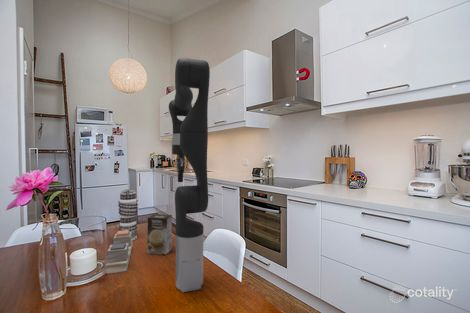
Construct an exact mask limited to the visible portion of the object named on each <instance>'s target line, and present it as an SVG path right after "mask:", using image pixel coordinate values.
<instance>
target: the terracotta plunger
mask: <svg viewBox="0 0 470 313" xmlns="http://www.w3.org/2000/svg"><path fill="white" fill-rule="evenodd" d="M116 233H117V237H125V236H129V230H123V231H119V230H118V231H117V232H116Z"/></svg>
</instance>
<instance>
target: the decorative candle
mask: <svg viewBox="0 0 470 313" xmlns="http://www.w3.org/2000/svg"><path fill="white" fill-rule="evenodd" d="M137 193H138V192H137V191H135V189H133V188H132V189H131V188H129V189H128V188H127V189H123V190H121V192H119V196H120V197H119V200H118V205H117V206H118V207H119V208H118V214H119V225H118V228H119V229H118V231H123V230H129V232H132V241H134V240H136V239H137V238H138V230H137V228H138V223H137V215H138V211H137V209H138V206H139V204H138V203H137V202H138V199H137ZM135 238H136V239H135Z"/></svg>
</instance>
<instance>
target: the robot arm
mask: <svg viewBox="0 0 470 313" xmlns="http://www.w3.org/2000/svg"><path fill="white" fill-rule="evenodd" d="M210 71H211V70H210V64H209V62H208V61H207V60H205V59H204V60H203V59H199V58H198V59H197V58H192V57H191V58H189V57H179V58H178V59H177V61H176V63H175V69H174V87H175V89H174V90H175V95H174V99H172V100H170V102H169V103H168V110H169V115H170V117H171V123H172V138H171V141H172V142H171V154H172V155H176V156H177V158H175V168H176V173H177V182H178V183H183V182H184V173H185V165H186V161H187V162H188V163H189V165H190V167H191V168H192V170H193V173H194V175H195V179H196V184H195V185H182V186H177V187H176V189H175V192H174V206H175V207H174V208H175V209H174V210H175V287H176V288H177V289H178V290H179V291H180V292H181V293H187V292H191V291H192V292H193V291H198V290H201V289H202V286H203V284H204V224H203V223H201V222H200V221H197V220H193V219H190V218H188V217H187V214H189V215H190V214H199V213H205V212H206V211H207V209H208V206H209V188H208V187H209V184H208V140H209V137H208V135H209V133H208V132H209V128H208V126H209V125H208V124H209V122H208V119H209V118H208V107H209V106H208V105H209V91H210V77H211V76H210V74H211V72H210ZM192 89H197V90H198V94H197V96H196V100H195V102H194V104H192V101H193V99H194V93H193V90H192ZM192 105H193V106H192ZM178 117H184V119H183V120H181V119H180V118H178Z"/></svg>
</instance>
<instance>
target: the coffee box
mask: <svg viewBox="0 0 470 313" xmlns="http://www.w3.org/2000/svg"><path fill="white" fill-rule="evenodd" d="M172 220H173V215H172V214H162V213H160V214H158V213H153V214H151V215H149V216H148V217H147V241H146V242H147V244H146V245H147V248H146V249H147V250H146V251H147V252H146V254H148V255H161V254H165V256H166V254H167V253H168V254H169V253H170V252H171V251H172V235H173V234H172V228H173V227H172V225H173V223H172V222H173V221H172ZM168 254H167V255H168Z"/></svg>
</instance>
